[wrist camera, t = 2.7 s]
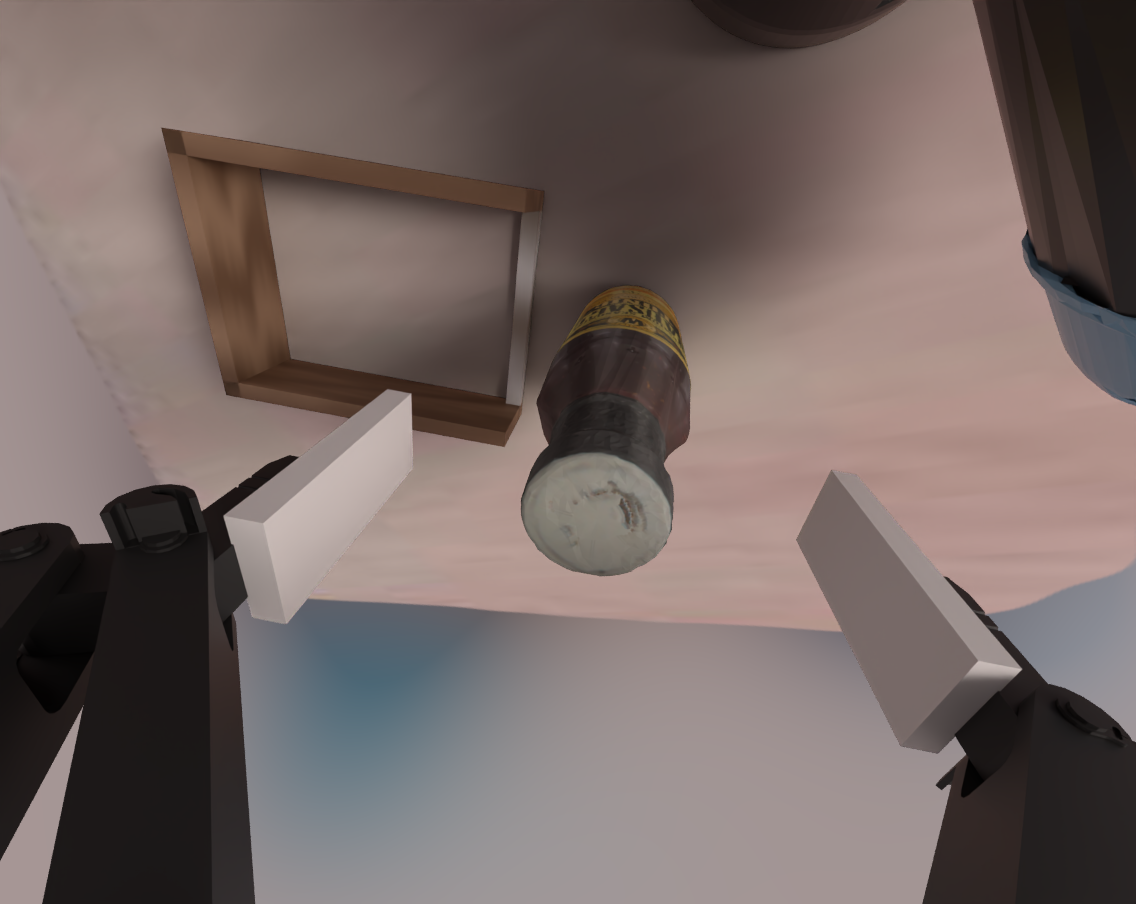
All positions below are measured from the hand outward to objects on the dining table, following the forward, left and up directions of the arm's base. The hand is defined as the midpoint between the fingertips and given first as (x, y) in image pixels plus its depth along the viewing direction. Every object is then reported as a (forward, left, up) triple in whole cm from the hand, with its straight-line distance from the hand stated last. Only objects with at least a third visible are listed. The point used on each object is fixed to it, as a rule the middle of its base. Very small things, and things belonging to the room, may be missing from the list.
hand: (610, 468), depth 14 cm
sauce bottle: (0, 0, -17) cm, 17 cm away
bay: (0, -15, -17) cm, 22 cm away
